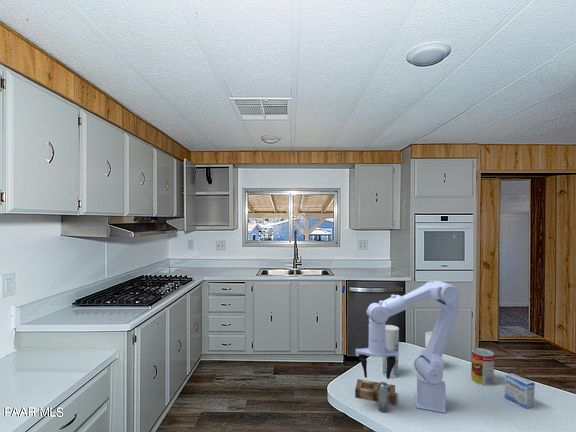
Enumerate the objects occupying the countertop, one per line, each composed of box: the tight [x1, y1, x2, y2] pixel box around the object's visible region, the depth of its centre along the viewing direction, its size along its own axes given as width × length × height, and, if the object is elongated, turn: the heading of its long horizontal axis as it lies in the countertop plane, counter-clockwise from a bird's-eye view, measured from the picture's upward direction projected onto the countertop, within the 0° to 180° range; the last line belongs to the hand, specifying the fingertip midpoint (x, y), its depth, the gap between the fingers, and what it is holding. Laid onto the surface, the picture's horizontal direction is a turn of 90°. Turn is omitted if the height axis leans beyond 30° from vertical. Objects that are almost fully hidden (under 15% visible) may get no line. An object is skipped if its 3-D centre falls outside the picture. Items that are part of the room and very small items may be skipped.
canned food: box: [470, 347, 495, 386], centre depth 136 cm, size 8×8×12 cm
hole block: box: [354, 379, 396, 405], centre depth 124 cm, size 14×8×3 cm, turn 72°
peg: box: [377, 381, 389, 414], centre depth 114 cm, size 3×3×9 cm
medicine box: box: [504, 372, 536, 409], centre depth 121 cm, size 8×4×9 cm, turn 23°
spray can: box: [382, 324, 400, 379], centre depth 140 cm, size 6×6×20 cm
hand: (376, 377), depth 117 cm, fingers open, 7 cm apart
